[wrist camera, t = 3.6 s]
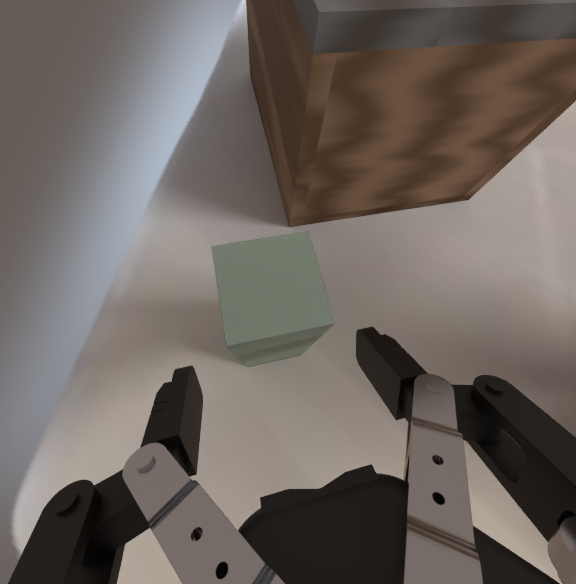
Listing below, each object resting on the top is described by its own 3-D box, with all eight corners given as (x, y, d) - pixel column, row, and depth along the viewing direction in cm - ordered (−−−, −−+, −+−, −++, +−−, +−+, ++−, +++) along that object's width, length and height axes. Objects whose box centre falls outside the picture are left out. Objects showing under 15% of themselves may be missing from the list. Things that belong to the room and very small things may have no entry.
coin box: (398, 65, 36) (494, -169, 21) (468, 199, 29) (686, -2, 14) (250, 75, 33) (236, -186, 18) (289, 226, 26) (318, 12, 11)
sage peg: (288, 305, 24) (308, 231, 12) (300, 355, 22) (334, 323, 11) (239, 315, 23) (211, 246, 12) (247, 366, 22) (226, 345, 10)
